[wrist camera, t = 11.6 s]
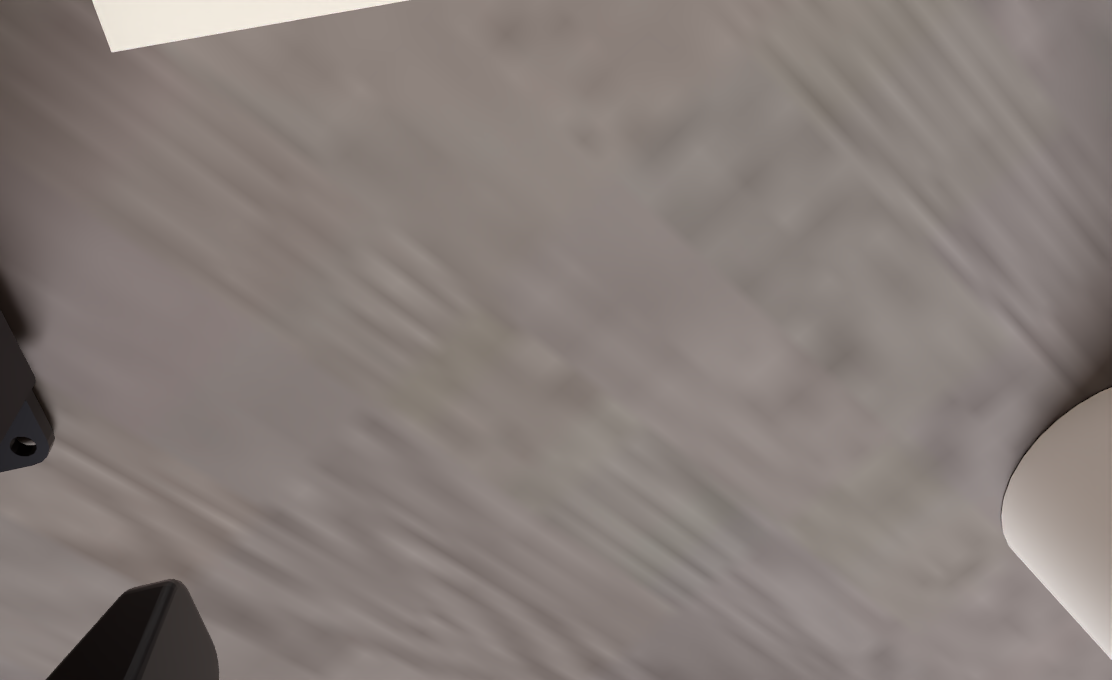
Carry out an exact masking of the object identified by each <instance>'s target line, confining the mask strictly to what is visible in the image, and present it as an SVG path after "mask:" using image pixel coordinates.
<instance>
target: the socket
mask: <svg viewBox="0 0 1112 680" xmlns="http://www.w3.org/2000/svg"><path fill="white" fill-rule="evenodd" d="M92 1H93V4H94V7H95V9H96V12H97V15H98V17H99V20H100V23H101V25H102V28H103V31H104V33H105V36H106V39H107V41H108V44H109V46H110V49H111V52H117V51H122V50H128V49H134V48H139V47H145V46H151V45H156V44H162V43H168V42H173V41H179V40H185V39H191V38H196V37H202V36H208V35H213V34H219V33H225V32H230V31H236V30H242V29H247V28H253V27H259V26H264V25H270V24H276V23H282V22H287V21H293V20H299V19H304V18H310V17H316V16H321V15H327V14H333V13H338V12H344V11H350V10H355V9H361V8H367V7H373V6H378V5H384V4H390V3H395V2H401V1H407V0H92Z"/></svg>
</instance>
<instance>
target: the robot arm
mask: <svg viewBox="0 0 1112 680" xmlns="http://www.w3.org/2000/svg"><path fill="white" fill-rule="evenodd" d="M35 382H36V380H35V376H34V374H33V372H32V370H31V368H30V366H29V365H28V363H27V361H26V359H25V357H24V355H23V353H22V351H21V349H20V347H19V345H18V343H17V341H16V339H15V337H14V335H13V333H12V331H11V329H10V327H9V325H8V323H7V322H6V320H5V318H4V316H3V314H2V312H1V310H0V472H4V471H9V470H13V469H18V468H23V467H27V466H32V465H35V464H37V463H40V462H42V461H43V460H44V459H45V458H46V457H47V456H48V454H49V452H50V450H51V448H52V446H53V443H54V439H55V437H54V433H53V430H52V428H51V426H50V424H49V422H48V420H47V418H46V416H45V414H44V412H43V410H42V408H41V406H40V404H39V403H38V401H37V399H36V397H35V395H34V393H33V391H32V388H33V386H34V384H35ZM16 437H27V438H30V439H32V440H33V441H34V442H35V443H36V445H25V444H23V443H20V442H19V441H18V439H17V438H16ZM46 680H219V666H218V659H217V653H216V650H215V646H214V644H213V642H212V639H211V637H210V635H209V633H208V631H207V629H206V627H205V625H204V623H203V621H202V618H201V616H200V614H199V612H198V610H197V608H196V606H195V604H194V602H193V600H192V597H191V595H190V593H189V591H188V590H187V588H186V587H185V585H184V584H183V583H182V582H181V581H178V580H175V579H168V580H164V581H159V582H155V583H151V584H146V585H142V586H138V587H134V588H132V589H129V590H127V591H126V592H124V593H123V594H122V595H121V596H120V597H119V598H118V599H117V600H116V601H115V603H114V604H113V605H112V606H111V607H110V608H109V609H108V610H107V612H106V613H105V614H104V615H103V616H102V617H101V618H100V619H99V621H98V622H97V623H96V624H95V625H94V626H93V627H92V628H91V629H90V631H89V632H88V633H87V634H86V635H85V636H84V637H83V638H82V640H81V641H80V642H79V643H78V644H77V645H76V646H75V647H74V649H73V650H72V651H71V652H70V653H69V654H68V655H67V656H66V657H65V659H64V660H63V661H62V662H61V663H60V664H59V665H58V666H57V668H56V669H55V670H54V671H53V672H52V673H51V674H50V675H49V677H48V678H47V679H46Z"/></svg>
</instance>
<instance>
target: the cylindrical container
mask: <svg viewBox="0 0 1112 680" xmlns="http://www.w3.org/2000/svg"><path fill="white" fill-rule="evenodd" d="M1001 519H1002V527H1003V533H1004V536H1005V538H1006V540H1007V543H1008V545H1009V546H1010V548H1011V549H1012V550H1013V551H1014V552H1015V553H1016V555H1017V556H1018V557H1019V558H1020V559H1021V560H1022V561H1023V562H1024V564H1025V565H1026V566H1027V567H1028V568H1029V569H1030V570H1031V571H1032V572H1033V573H1034V575H1035V576H1036V577H1037V578H1038V579H1039V580H1040V581H1041V582H1042V583H1043V585H1044V586H1045V587H1046V588H1047V589H1048V590H1049V591H1050V592H1051V593H1052V594H1053V596H1054V597H1055V598H1056V599H1057V600H1058V601H1059V602H1060V603H1061V604H1062V605H1063V607H1064V608H1065V609H1066V610H1067V611H1068V612H1069V613H1070V614H1071V615H1072V617H1073V618H1074V619H1075V620H1076V621H1077V622H1078V623H1079V624H1080V625H1081V626H1082V628H1083V629H1084V630H1085V631H1086V632H1087V633H1088V634H1089V635H1090V636H1091V638H1092V639H1093V640H1094V641H1095V642H1096V643H1097V644H1098V645H1099V646H1100V647H1101V649H1102V650H1103V651H1104V652H1105V653H1106V654H1107V655H1108V656H1109V657H1110V659H1111V660H1112V387H1111V388H1109V389H1106V390H1104V391H1101V392H1099V393H1097V394H1096V395H1094V396H1092V397H1090V398H1089V399H1087V400H1085V401H1083V402H1082V403H1080V404H1078V405H1077V406H1076V407H1074V408H1073V409H1071V410H1070V411H1069V412H1067V413H1066V414H1065V415H1063V416H1062V417H1061V418H1059V419H1058V420H1057V421H1056V422H1055V423H1054V424H1053V425H1052V426H1051V427H1050V428H1048V429H1047V430H1046V431H1045V432H1044V433H1043V434H1042V435H1041V436H1040V437H1039V438H1038V439H1037V441H1036V442H1035V443H1034V444H1033V446H1032V447H1031V448H1030V449H1029V451H1028V452H1027V453H1026V454H1025V455H1024V457H1023V458H1022V460H1021V462H1020V463H1019V465H1018V467H1017V469H1016V470H1015V472H1014V474H1013V475H1012V477H1011V479H1010V482H1009V485H1008V488H1007V490H1006V493H1005V496H1004V499H1003V507H1002V514H1001Z"/></svg>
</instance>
